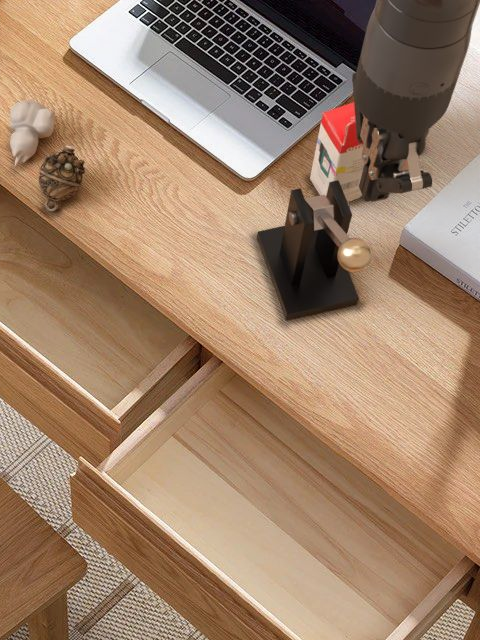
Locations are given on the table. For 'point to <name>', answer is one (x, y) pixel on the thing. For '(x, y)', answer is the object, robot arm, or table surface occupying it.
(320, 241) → the lever base
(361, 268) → the lever with brass knob
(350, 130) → the ink box
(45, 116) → the white lobed figurine
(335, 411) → the table surface
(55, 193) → the pendant
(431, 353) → the table surface
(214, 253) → the table surface
